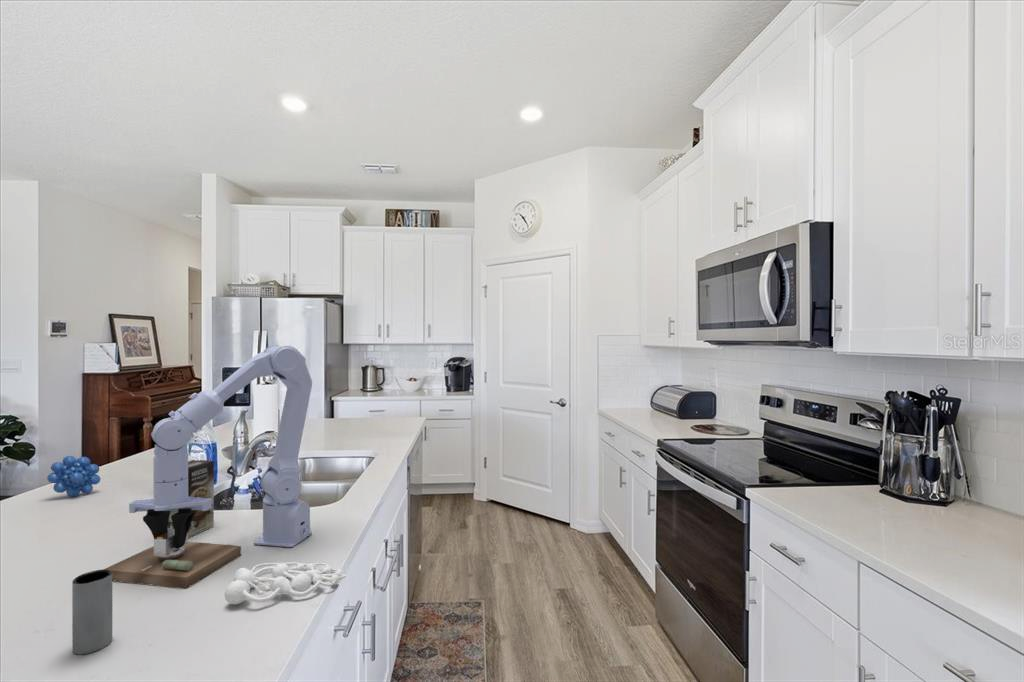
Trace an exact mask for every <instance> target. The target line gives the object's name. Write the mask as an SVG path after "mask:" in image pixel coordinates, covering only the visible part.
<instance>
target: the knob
mask: <svg viewBox="0 0 1024 682" xmlns="http://www.w3.org/2000/svg"><path fill="white" fill-rule="evenodd" d="M188 542H189V538H188V533H187V536H186V540H185V544H187V543H188ZM153 546H154V556H158V559H159V560H170V559H174V558H178V557H180V556H182V555H183V554H184V553H185V547H184V545H183V546H182V547H180V548H175V531H174V529H173V530H171V531H169V532H167V533H165V534H163V535H160V536H158V537H157V538H155V539H154V538H153Z"/></svg>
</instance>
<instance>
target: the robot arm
mask: <svg viewBox="0 0 1024 682" xmlns="http://www.w3.org/2000/svg"><path fill="white" fill-rule="evenodd" d="M306 360H307V359H306V357H305V356H304V355H303V354H302V353H301V352H300V351H299V349H298V348H296V347H294V346H291V345H278V344H276V345H274V344H273V345H271V346H270V345H269V346H267V348H265V349H264V350H263V351H261V352H259V353H257V354H255V355H254V356H252V357H251V358H250V359H249V360H247V361H246V362H244V364H243V365H241V366H240V367H239V368H237V370H235V371H234V372H233V373H232V374H231V375H230V376H228V377H227V378H226V379H225V380H224V381H222V382H221V383H220V384H218V385H217V386H216V387H215V388H214V389H212V390H202V391H200V392H198V393H196V392H194V393H192V394H191V395H189V399H190V400H188V401H187V402H186V403H184V404H183V405H181V406H180V407H179V408H178V409H177V410H175V411H174V410H171V411H170V412H169V413H168V416H170V417H167V418H163V419H161V420H159V421H157V422H156V423H155V425H154V426H153V429H152V432H151V433H150V435H151V438H152V440H153V442H154V443H155V444H154V449H153V453H154V456H153V498H147V499H135V500H133V501H132V502H129V503H128V505H129V506H128V507H129V508H128V510H129V511H128V512H129V514H135V513H137V512H139V513H140V512H146V514H145V515H143V516H142V521H143V523H145V524H146V526H147V527H148V529H149V530H150V532H151V535H152V537H153V540H154V539H155V538H157V537H158V536H160V535H163V534H165V533H167V532H168V521H169V516H170V511H178V512H177V513H175V514H173V515H172V516H171V519H172V522H173V525H174V531H175V548H180V547H182V546H183V545H185V540H186V536H187V533H188V530H189V527H190V525H191V522H192V520H193V518H194V516H195V515H196V513H197V511H198V510H201V511H207V510H209V509H210V508H211V507H212V498H197V497H188V461H189V454H188V444H189V443H190V441H191V438H192V434H193V433H197V432H198V431H199V430H201V429H202V428H203V427H204V426H206V425H208V423H209V422H210V421H212V420H213V419H214V418H215V417H217V416H218V415H219V414H221V413H222V412H223V410H224V404H225V402H226V401H227V400H228V399H229V398H231V397H232V396H234V395H235V394H237V393H238V392H239V391H241V390H242V389H243V388H245V387H247V386H248V385H249V384H251V382H252V381H254V380H255V379H257V378H261V377H267V376H268V377H269V376H273V375H274V376H275V377H277V378H278V379H279V380H280V381H281V382H282V384H283V385H284V386H285V387H286V390H285V391H286V393H285V397H284V402H283V407H282V412H281V415H280V421H279V427H278V431H277V436H276V442H275V447H274V451H273V455H272V457H271V459H270V460H269V461H268V464H267V468H266V470H265V471H264V473H263V474H262V476H261V479H260V482H259V483H260V488H261V490H262V491H263V492H265V495H264V497H263V499H262V536H261V537H260V538H258V539H257V540H254V541H253V545H258V546H270V547H281V548H282V547H284V548H293V547H294V546H296V545H297V544H299V543H301V542H302V541H303V540H305V539H307V538H308V537H309V536H311V535H312V533H313V532H312V531H311V507H310V504H309V503H308V502H307V501H304V500H301V499H299V494H300V493H301V490H302V484H301V483H302V482H301V480H300V474H301V468H300V463H299V459H298V458H299V455H300V454H299V453H300V449H301V443H302V439H303V438H302V437H303V433H304V428H305V424H306V423H305V422H306V418H307V413H308V408H309V403H310V397H311V392H312V387H313V381H312V378H311V375H310V372H309V369H308V367H307V363H306ZM310 534H311V535H310ZM307 536H308V537H307Z"/></svg>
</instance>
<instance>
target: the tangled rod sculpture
mask: <svg viewBox="0 0 1024 682" xmlns="http://www.w3.org/2000/svg"><path fill="white" fill-rule="evenodd" d="M291 565H293V566H292V567H290V566H291ZM320 565H321V566H324V567H323V569H322V570H319V569H316V567H317V566H320ZM260 567H261V568H260ZM257 568H260V569H257ZM256 569H257V570H256ZM255 570H256V571H255ZM268 571H272V576H273V577H264V576H258V575H260V574H262V573H264V572H268ZM288 578H289V579H291V581H290V580H289V579H288ZM345 578H347V575H346V574H344V572H343V570H342V569H338V568H337V569H336V568H332V566H330V565H328V563H326V562H316V563H312V562H311V563H304V562H303V563H302V562H297V561H296V562H295V561H288V562H265V563H260V564H259V563H258V564H257V565H254V566H253V567H252V568H251V570H250V569H248V568H246V567H240V568H238V569H237V570H236V572H235V574H234V576H233V581H232V582H231V583H229V584H228V585H227V587H226V588H225V591H224V598H225V601H226V602H227V603H228V604H230V605H239V604H241V603H243V602H244V601H246V599H247V600H249V601H252V602H254V603H266V602H269V601H271V600H273V598H274V597H276V596H277V595H278V594H283V595H291V596H295V597H305V596H307V595H309V594H311V593H312V592H313V591H314V590H316V589H318V587H319V586H320V585H323V586H324V587H331V586H335V585H338V584H339V583H340V580H341V579H345ZM324 581H327V582H329V583H327V582H324ZM263 582H266V583H269V584H270V585H266V584H265V583H263ZM312 583H313V585H312ZM256 584H258V585H260V586H263V588H265V591H267V592H269V591H270V590H271V591H272V593H271V594H269V595H268V596H265V597H258V596H255V595H252V594H250V590H251V589H252V588H254V589H255V590H256V591H257V592H258V595H259V596H261V595H264V590H261V589H260V588H259V587H258V586H257V585H256ZM311 585H312V586H311Z"/></svg>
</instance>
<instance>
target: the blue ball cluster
mask: <svg viewBox="0 0 1024 682" xmlns="http://www.w3.org/2000/svg"><path fill="white" fill-rule="evenodd" d="M50 469H51V471H52V472H51V473H50V474H48V475H47V477H46V479H47V481H48V482H49V483H51V484H54V485H53V487H52V488H53V491H54V492H55V493H59V494H62V493H63V494H64V492H65V493H66V495H67V496H68V497H75V498H76V497H77V496H78V495H80V493H82V494H90V493H91V492H92V491H93V490H94V487H93V485H97V484H100V482H101V477H100V475H99V474H98V473H99V471H100V467H99V465H97V464H95V463H91V460H90V458H89V457H87V456H80V457H77V458H76V457H75V456H73V455H66V456H65V457H63V459H62V462H61V461H55V462H53V463H52V464H51V466H50Z"/></svg>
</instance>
